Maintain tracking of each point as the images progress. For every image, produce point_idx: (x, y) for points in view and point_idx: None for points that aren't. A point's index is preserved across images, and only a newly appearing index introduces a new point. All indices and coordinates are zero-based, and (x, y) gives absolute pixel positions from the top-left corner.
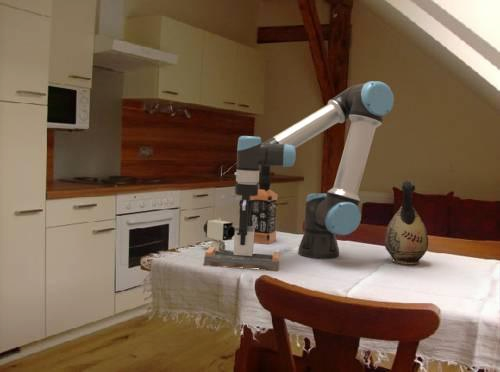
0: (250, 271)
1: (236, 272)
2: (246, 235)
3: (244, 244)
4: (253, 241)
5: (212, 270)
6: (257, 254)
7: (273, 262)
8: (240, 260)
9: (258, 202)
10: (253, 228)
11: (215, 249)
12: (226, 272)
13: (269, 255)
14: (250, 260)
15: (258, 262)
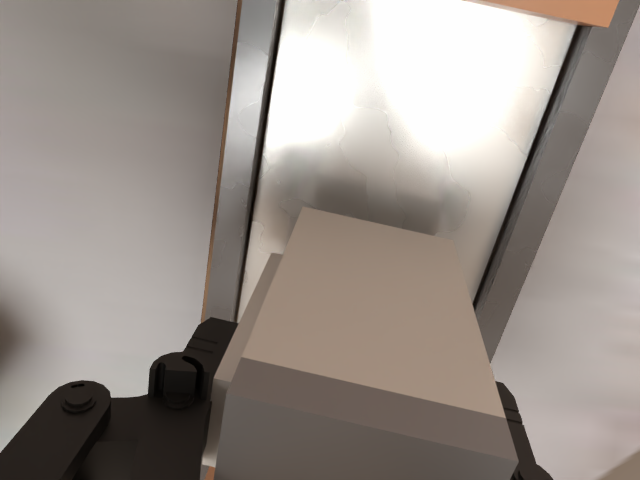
0: (615, 230)
1: (637, 334)
2: (528, 463)
3: (509, 392)
4: (318, 271)
5: (562, 464)
6: (248, 145)
7: (633, 16)
8: (502, 325)
9: None
10: (450, 442)
11: (210, 471)
12: (628, 395)
13: (270, 12)
14: (529, 250)
15: (561, 174)
